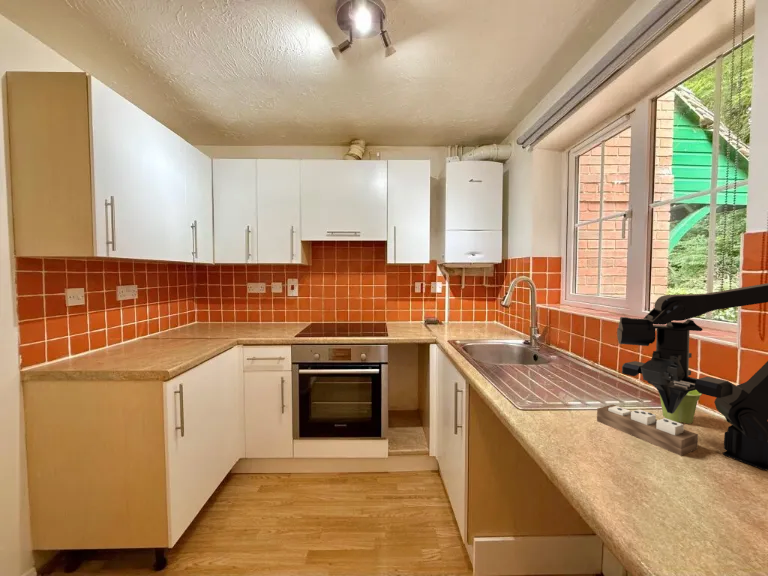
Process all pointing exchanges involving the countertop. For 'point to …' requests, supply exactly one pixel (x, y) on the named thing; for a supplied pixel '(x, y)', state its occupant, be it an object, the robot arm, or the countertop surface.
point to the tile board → (649, 432)
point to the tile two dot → (670, 426)
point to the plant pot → (683, 408)
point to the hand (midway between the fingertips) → (670, 412)
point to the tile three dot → (643, 417)
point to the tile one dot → (619, 410)
